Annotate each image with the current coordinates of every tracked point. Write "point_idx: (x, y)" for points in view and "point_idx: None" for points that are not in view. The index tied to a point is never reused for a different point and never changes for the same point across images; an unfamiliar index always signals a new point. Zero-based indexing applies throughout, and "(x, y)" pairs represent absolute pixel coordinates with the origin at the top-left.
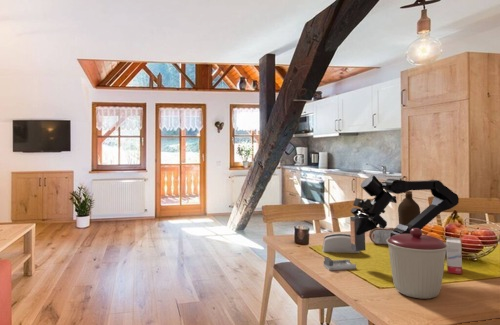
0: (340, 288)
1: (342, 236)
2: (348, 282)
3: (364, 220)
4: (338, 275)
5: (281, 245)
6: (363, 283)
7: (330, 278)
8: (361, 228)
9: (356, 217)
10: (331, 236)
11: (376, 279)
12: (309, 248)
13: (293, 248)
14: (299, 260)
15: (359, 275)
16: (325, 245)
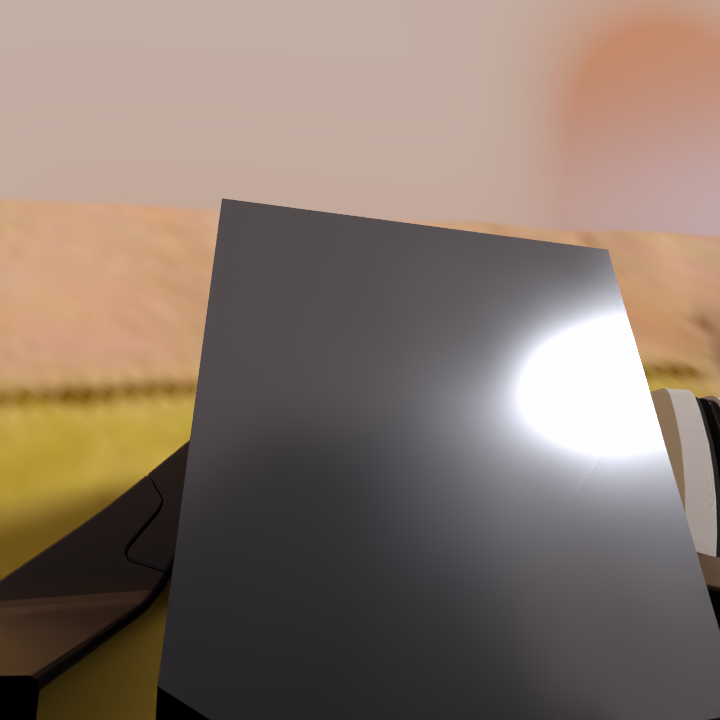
0: (21, 205)
1: (701, 521)
2: (80, 284)
3: (17, 631)
4: (206, 290)
5: (706, 253)
6: (21, 352)
7: (179, 232)
8: (172, 463)
9: (391, 358)
10: (704, 431)
11: (41, 471)
12: (669, 359)
13: (663, 283)
14: (476, 226)
15: (158, 402)
16: None
